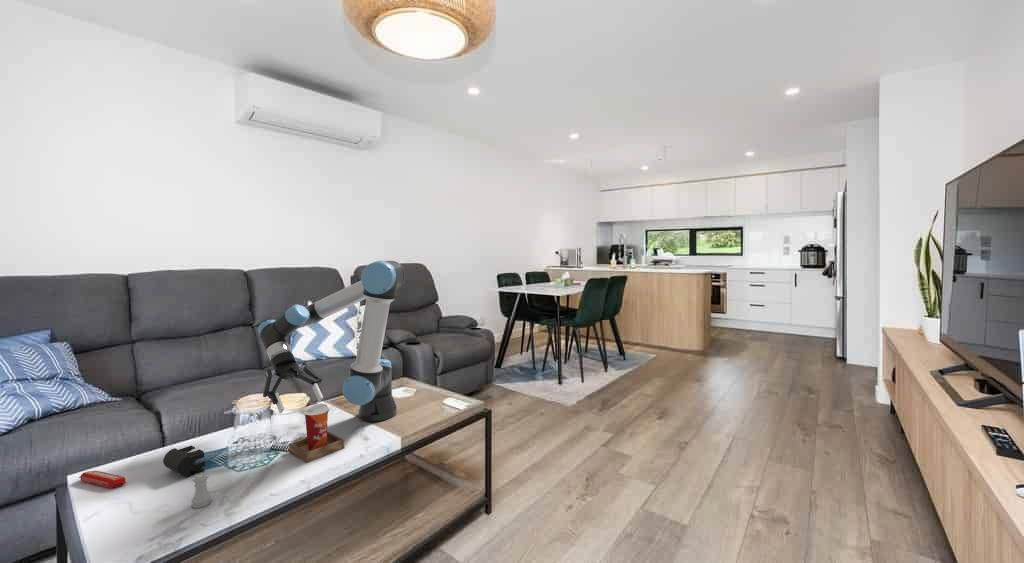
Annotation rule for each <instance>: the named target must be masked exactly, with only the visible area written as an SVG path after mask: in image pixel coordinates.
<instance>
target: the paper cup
mask: <svg viewBox="0 0 1024 563" xmlns="http://www.w3.org/2000/svg"><path fill="white" fill-rule="evenodd" d="M329 410H330V408H329V407H328V405H327V404H326V403H315V404H310V405H308V406H306V407H305V409H304V412H303V414H304V416H305V417H304V419H305V426H306V427H305V428H306V437H307V441H308V449H309V450H310V451H312V450H314V449H317V448H320V447H322V446H325V445H327V431H328V415H329V414H328V413H329Z"/></svg>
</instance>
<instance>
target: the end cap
mask: <svg viewBox="0 0 1024 563" xmlns="http://www.w3.org/2000/svg"><path fill="white" fill-rule="evenodd" d="M195 449H196V447H195V446H194V445H189V446H185V447H182V448H180V449H178V448H175V447H174V448H171V449H170V450H168V451H167V452H166V454H165V455H164V457H163V460H162V462H163V465H164V467H165V468H167V469H169V470H171V471H173V472H174V473H176V474H177V475H179V476H182V477H185V478H190V477H192V476H196V475H197V474H198V475H199V473H204V472H205V466H206V461H204V460H203V461H201V462H198V463H196V462H197V461H199V460H200V459H203V458H205V451H204V450H201V449H196V450H195ZM192 450H194V451H192Z"/></svg>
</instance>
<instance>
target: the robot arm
mask: <svg viewBox="0 0 1024 563" xmlns="http://www.w3.org/2000/svg"><path fill="white" fill-rule="evenodd" d="M405 271H406V270H405V267H404V266H403V265H402V264H401V263H399V262H398V261H395V260H376V261H373V262H371V263H369V264H368V265H366V266H365V267H364V269H363V270H362V272H361V275H360V276H361V277H360V278H361V279H360V280H359V281H357V282H355V283H353V284H351V285H348V286H346V287H344V288H342V289H340V290H338V291H336V292H334V293H332V294H329V295H327V296H326V297H323V298H321V299H319V300H317V301H315V302H313V303H311V304H309V305H307V306H303V305H300V304H297V303H296V304H294V305H292V306H290V307H289V308H287V310H285V312H283V313H282V314H281V315H280V316H279V317H278V318H277V319H268V320H266V321H264V322H261V323H260V324H259V326H258V327H257V332H258V335H259V339H260V340H261V342H262V344H263V346H264V348H265V352H266V354H267V357H268V359H269V360H270V363H271V366H272V368H273V370H272V369H270V368H268V369H267V370H266V372H265V378H266V380H265V384H264V388H263V393H262V397H263V398H266V397H268V399H270V400H271V403H272V404H273V405H276V408H277V410H278V413H279V414H282V413H283V412H284V410H285V407H284V404H283V401H282V400H281V397H280V394H279V392H276V391H277V389H278V388H279V385H280V384H281V382H282V380H285V381H286V380H289V379H294V378H296V379H300V380H301V381H304V382H306V383H308V384H310V385H311V386H312V387H311V388H312V391H313V392H314V394H315V397H316V399H317V402H318V403H320V402H322V400H323V399H324V396H323V393H322V391H323V388H322V386H321V383H322V381H323V380H324V378H323V377H322V376H321V375H320V374H319V373H317V372H316V371H315V370H314V369H312V368H311V367H310V366H309V365H308V363H307V362H306V361H303V362H302V363H300V364H298V363H297V360H296V358H295V356H294V354H293V352H292V349H291V347H290V344H289V343H288V341H287V338H288V337H289V336H291V335H292V334H293V333H294V332H295V331H296V330H298V329H300V328H305V327H307V326H310V325H315V324H317V323H319V322H321V321H322V320H324V319H326V318H328V317H330V316H332V315H334V314H337V313H338V312H341V311H343V310H345V309H347V308H349V307H351V306H353V305H355V304H357V303H360V302H362V301H364V300H365V305H364V312H363V317H362V323H361V329H360V335H359V340H358V345H357V346H358V347H357V352H356V357H355V361H354V362H352V363H351V364H350V368H349V371H348V372H349V373H348V378H346V379H344V380H345V381H344V382H343V385H342V388H341V389H342V391H341V392H342V395H343V397H344V398H345V399H346V400H347V402H348V403H350V404H352V405H355V406H359V409H358V411H357V412H358V414H357V415H358V417H357V418H358V419H359V420H360V421H364V422H380V421H385V420H389V419H391V418H394V417H395V416H396V415H397V412H398V410H397V405H396V402H395V399H394V397H393V387H392V385H393V384H392V383H393V382H392V381H393V379H392V374H393V373H392V369H393V367H392V362H391V360H389V359H384V358H381V356H382V352H383V351H382V350H383V345H384V340H385V334H386V329H387V323H388V317H389V312H390V305H391V303H392V302H394V301H395V300H396V296H397V295H396V294H397V290H398V289H399V288H401V287H402V285H403V284H404V283H405V281H406V272H405ZM274 375H275V376H277V380H276V381H275V384H274V385H273V387H272V389H271V390H270V387H271V382H272V378H273V376H274Z"/></svg>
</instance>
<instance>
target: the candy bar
mask: <svg viewBox="0 0 1024 563" xmlns="http://www.w3.org/2000/svg"><path fill="white" fill-rule="evenodd" d="M79 478H80V480H81V481H82V482H84V483H88V484H92V485H96V486H97V485H98V486H101V487H104V488H116V487H120V486H123V485H125V484H127V481H126V478H125V476H121V475H117V474H114V473H109V472H104V471H100V470H90V471H84V472H83V473H81V475H80V476H79V477H78V479H79Z"/></svg>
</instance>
